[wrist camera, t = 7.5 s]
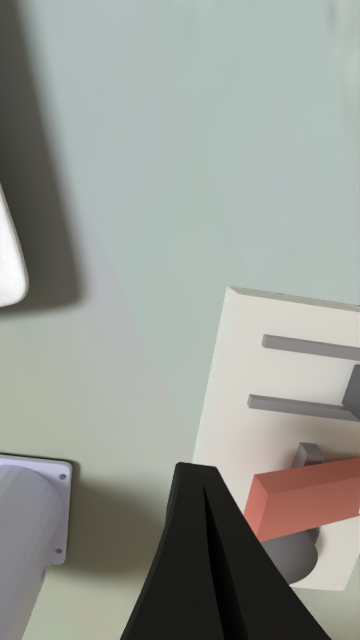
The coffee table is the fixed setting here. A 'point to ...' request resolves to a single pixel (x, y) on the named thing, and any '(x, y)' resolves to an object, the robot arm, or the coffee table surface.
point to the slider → (353, 393)
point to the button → (292, 555)
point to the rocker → (303, 498)
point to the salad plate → (11, 259)
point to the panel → (284, 404)
